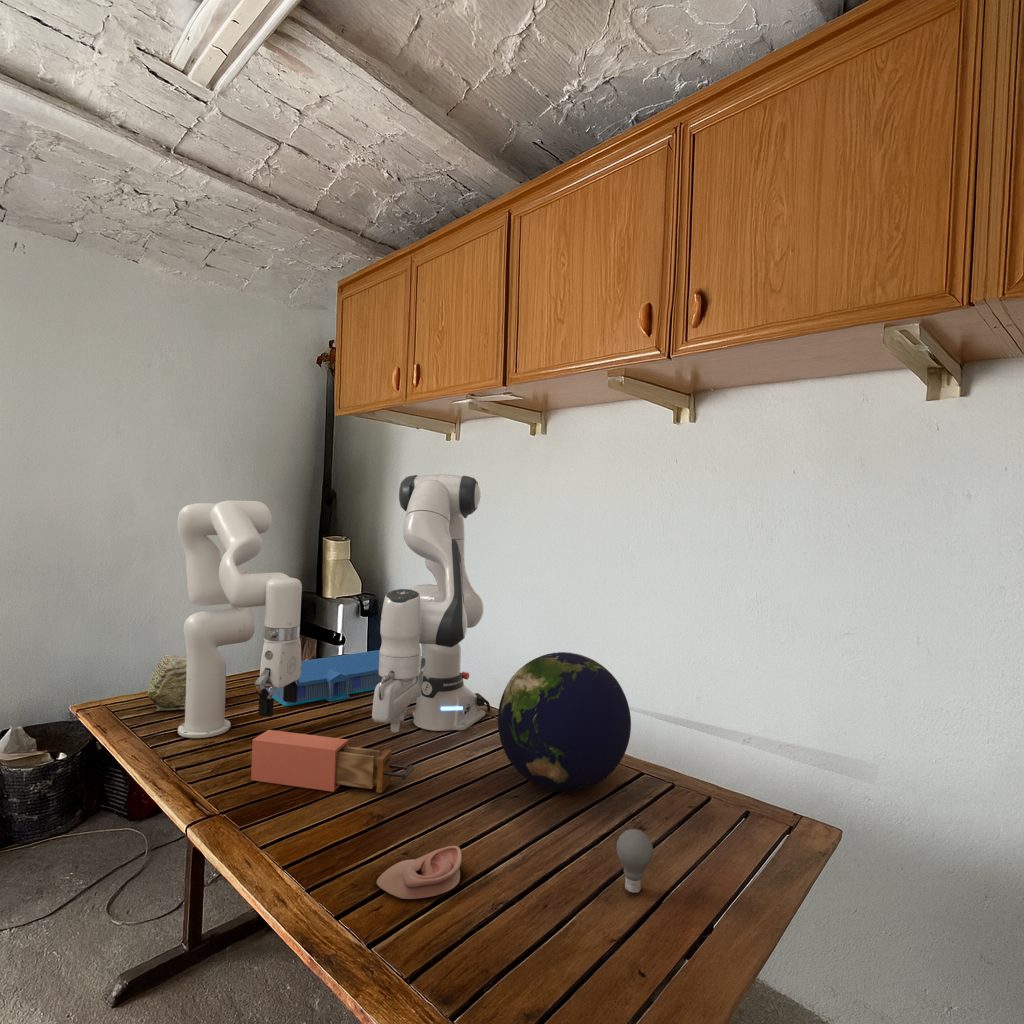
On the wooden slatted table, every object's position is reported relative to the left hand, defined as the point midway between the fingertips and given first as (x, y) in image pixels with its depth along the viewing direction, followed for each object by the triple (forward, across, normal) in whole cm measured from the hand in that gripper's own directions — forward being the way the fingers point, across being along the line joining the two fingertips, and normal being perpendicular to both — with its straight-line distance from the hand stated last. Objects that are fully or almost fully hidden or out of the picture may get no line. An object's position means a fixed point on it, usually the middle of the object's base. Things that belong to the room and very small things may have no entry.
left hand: (278, 708), depth 142 cm
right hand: (+1, 0, -28) cm, 29 cm away
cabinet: (+15, 0, -6) cm, 16 cm away
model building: (+16, +63, +18) cm, 67 cm away
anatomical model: (+14, -29, -44) cm, 55 cm away
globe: (+14, +13, -63) cm, 66 cm away
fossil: (+17, +33, +50) cm, 62 cm away
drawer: (+14, 0, -20) cm, 24 cm away
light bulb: (+14, -22, -80) cm, 84 cm away
